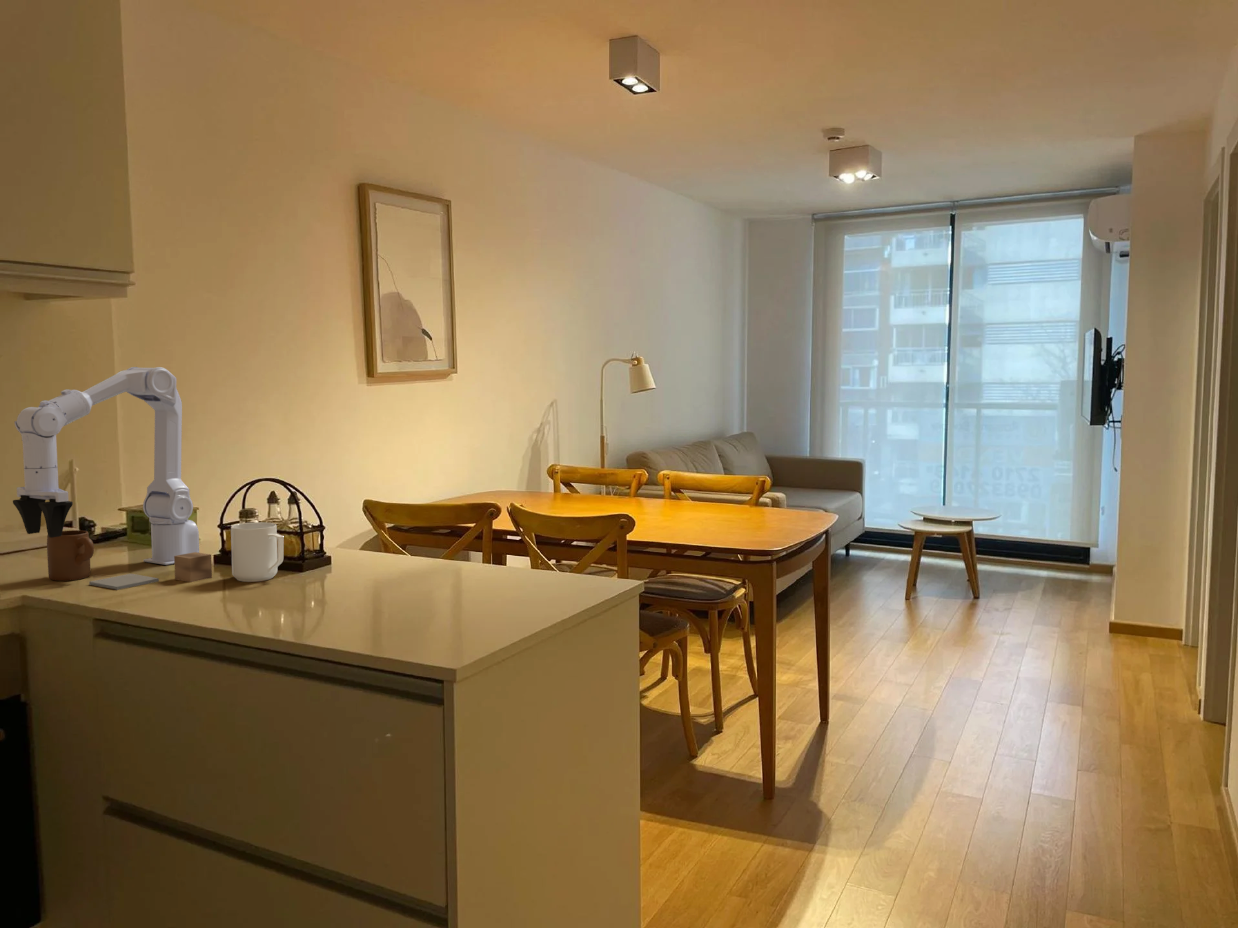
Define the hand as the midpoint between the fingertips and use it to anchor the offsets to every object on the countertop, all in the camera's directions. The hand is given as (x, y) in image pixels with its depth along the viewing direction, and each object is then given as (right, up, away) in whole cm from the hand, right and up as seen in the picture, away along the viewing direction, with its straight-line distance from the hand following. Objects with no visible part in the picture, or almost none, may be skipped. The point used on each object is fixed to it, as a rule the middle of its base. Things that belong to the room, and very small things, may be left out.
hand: (44, 535), depth 185 cm
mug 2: (+40, -10, +9) cm, 42 cm away
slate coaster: (+14, -10, +3) cm, 18 cm away
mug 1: (+3, -10, +6) cm, 12 cm away
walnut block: (+26, -10, +8) cm, 29 cm away
